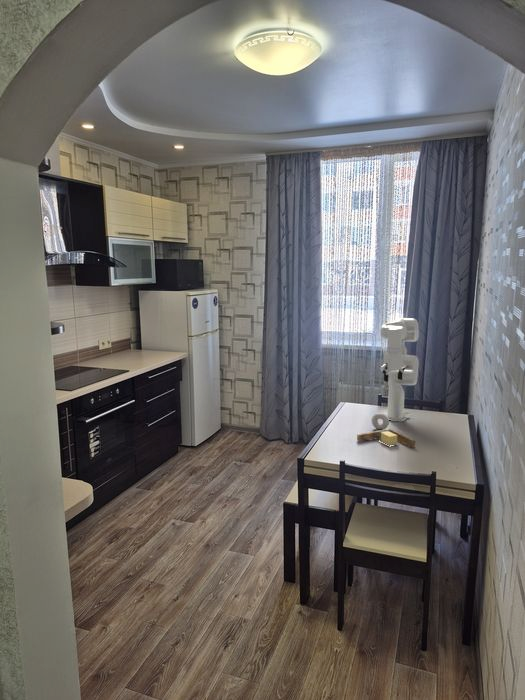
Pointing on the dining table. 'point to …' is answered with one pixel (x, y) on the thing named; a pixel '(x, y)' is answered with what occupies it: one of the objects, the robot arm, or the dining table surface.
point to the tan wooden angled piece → (400, 436)
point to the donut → (383, 417)
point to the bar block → (388, 438)
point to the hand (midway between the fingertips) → (393, 380)
